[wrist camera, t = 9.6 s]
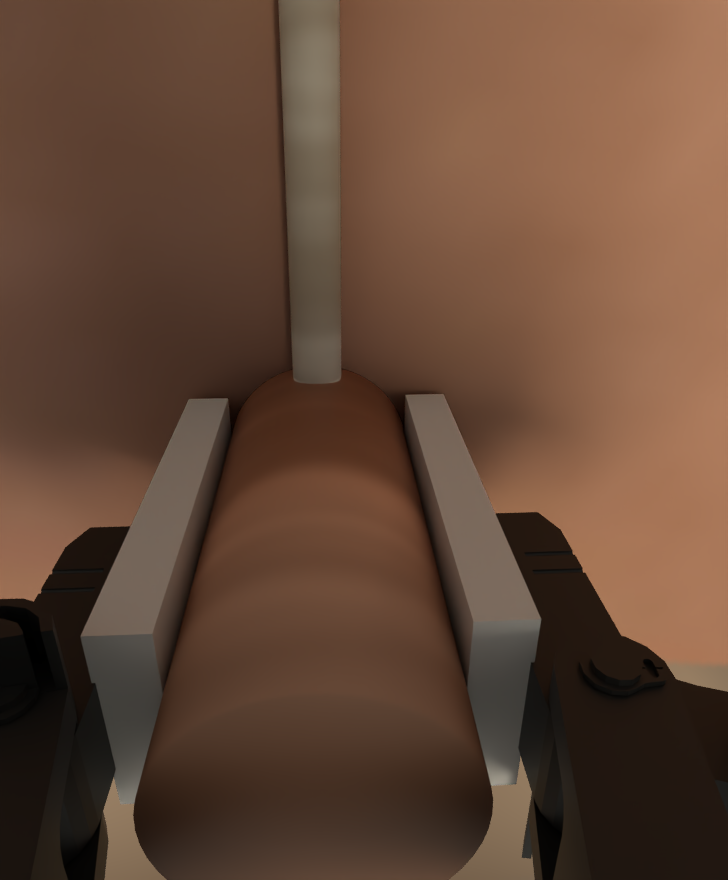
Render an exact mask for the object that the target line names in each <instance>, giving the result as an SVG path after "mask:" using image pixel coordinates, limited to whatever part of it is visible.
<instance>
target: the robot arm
mask: <svg viewBox="0 0 728 880" xmlns="http://www.w3.org/2000/svg"><path fill="white" fill-rule="evenodd" d="M404 434H405V438H406V442H407V446H408V450H409V454H410V458H411V463H412V467H413V471H414V475H415V479H416V483H417V487H418V491H419V495H420V499H421V503H422V507H423V511H424V515H425V519H426V523H427V527H428V532H429V536H430V540H431V544H432V548H433V552H434V556H435V560H436V564H437V568H438V572H439V576H440V580H441V584H442V588H443V592H444V597H445V601H446V605H447V609H448V613H449V617H450V621H451V625H452V629H453V633H454V637H455V641H456V645H457V649H458V653H459V657H460V662H461V666H462V670H463V674H464V678H465V682H466V686H467V690H468V694H469V698H470V702H471V706H472V710H473V714H474V718H475V722H476V726H477V731H478V735H479V739H480V743H481V747H482V751H483V755H484V759H485V763H486V767H487V771H488V775H489V779H490V783H491V786H492V785H510V784H516V781H517V775H518V769H519V762H520V756H521V758H522V762H523V765H524V767H525V771H526V774H527V778H528V781H529V784H530V787H531V790H532V796H531V802H530V807H529V813H528V819H527V825H526V831H525V837H524V844H523V852H522V858H531V855H532V857H533V867H534V876H535V880H728V692H726V691H721V690H716V689H711V688H706V687H701V686H697V685H693V684H690V683H686V682H683V681H679V680H677V679H675V677H674V675H673V674H672V672H671V671H670V669H669V668H668V666H667V664H666V663H665V661H664V660H662V659H661V658H660V657H659V656H657V655H656V654H655V653H654V652H652V651H651V650H650V649H649V648H648V647H646V646H644V645H642V644H640V643H638V642H635V641H633V640H631V639H629V638H627V637H624V636H621V635H620V633H619V631H618V629H617V628H616V626H615V624H614V622H613V621H612V619H611V617H610V615H609V614H608V612H607V610H606V608H605V607H604V605H603V603H602V601H601V600H600V598H599V596H598V594H597V593H596V591H595V589H594V587H593V586H592V584H591V582H590V580H589V579H588V577H587V575H586V573H583V571H582V566H581V565H580V563H579V561H578V559H577V558H576V556H575V555H573V553H572V549H571V547H570V545H569V544H568V542H567V540H566V538H565V537H564V535H563V533H562V531H561V530H560V529H559V528H558V527H556V526H555V525H554V524H552V523H551V522H550V521H548V520H547V519H546V518H545V517H543V516H542V515H541V514H539V513H538V512H528V513H496V514H495V512H494V509H493V507H492V505H491V502H490V500H489V498H488V495H487V493H486V491H485V489H484V486H483V484H482V482H481V479H480V477H479V475H478V472H477V470H476V468H475V465H474V463H473V461H472V459H471V456H470V454H469V452H468V449H467V447H466V445H465V442H464V440H463V438H462V436H461V433H460V431H459V429H458V426H457V424H456V422H455V419H454V417H453V415H452V412H451V410H450V408H449V406H448V403H447V401H446V399H445V396H444V394H416V395H405V423H404ZM231 436H232V433H231V423H230V412H229V402H228V398H214V399H189V400H188V402H187V404H186V406H185V409H184V411H183V413H182V415H181V417H180V419H179V422H178V424H177V426H176V428H175V430H174V433H173V435H172V437H171V439H170V441H169V444H168V446H167V448H166V450H165V452H164V454H163V457H162V459H161V461H160V463H159V465H158V468H157V470H156V472H155V474H154V476H153V479H152V481H151V483H150V485H149V487H148V490H147V492H146V494H145V496H144V498H143V500H142V503H141V505H140V507H139V509H138V511H137V514H136V516H135V518H134V520H133V522H132V525H131V526H128V527H94V528H89V529H88V530H87V531H85V532H84V533H83V534H82V535H80V536H79V537H78V538H77V539H75V540H74V541H73V542H72V543H70V544H69V545H68V546H67V547H65V549H64V551H63V553H62V554H61V556H60V558H59V559H58V561H57V563H56V565H55V566H54V568H53V570H52V571H53V572H52V574H50V575H49V577H48V578H47V580H46V582H45V583H44V585H43V587H42V589H41V594H38V595H37V597H36V599H35V601H34V602H33V601H29V600H26V599H0V880H104V878H105V869H106V868H105V867H106V859H107V849H108V835H107V826H106V822H105V817H104V813H103V809H104V806H105V803H106V799H107V796H108V793H109V790H110V787H111V783H112V780H113V777H114V779H115V783H116V787H117V791H118V795H119V800H120V804H134V803H135V797H136V793H137V790H138V786H139V782H140V778H141V775H142V771H143V767H144V763H145V760H146V756H147V752H148V748H149V745H150V741H151V737H152V733H153V730H154V726H155V722H156V718H157V715H158V711H159V707H160V703H161V700H162V696H163V692H164V688H165V684H166V681H167V677H168V673H169V669H170V666H171V662H172V658H173V654H174V651H175V647H176V643H177V639H178V636H179V632H180V628H181V624H182V621H183V617H184V613H185V609H186V606H187V602H188V598H189V594H190V590H191V587H192V583H193V579H194V575H195V572H196V568H197V564H198V560H199V557H200V553H201V549H202V545H203V542H204V538H205V534H206V530H207V527H208V523H209V519H210V515H211V512H212V508H213V504H214V500H215V496H216V493H217V489H218V485H219V481H220V478H221V474H222V470H223V466H224V463H225V459H226V455H227V451H228V448H229V444H230V440H231Z"/></svg>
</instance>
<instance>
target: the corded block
mask: <svg viewBox="0 0 728 880" xmlns="http://www.w3.org/2000/svg"><path fill="white" fill-rule="evenodd" d="M278 4H279V30H280V55H281V81H282V107H283V132H284V158H285V184H286V209H287V235H288V261H289V286H290V312H291V338H292V363H293V369H292V370H289V371H286V372H283V373H281V374H279V375H277V376H275V377H273V378H271V379H269V380H268V381H266V382H265V383H263V384H262V385H261V386H260V387H259V388H257V389H256V390H255V391H254V392H253V393H252V394H251V395H250V397H249V398H248V399H247V400H246V402H245V403H244V405H243V406H242V408H241V410H240V412H239V414H238V416H237V419H236V422H235V425H234V429H233V433H232V436H231V440H230V444H229V448H228V451H227V455H226V459H225V463H224V466H223V470H222V474H221V478H220V481H219V485H218V489H217V493H216V496H215V500H214V504H213V508H212V512H211V515H210V519H209V523H208V527H207V530H206V534H205V538H204V542H203V545H202V549H201V553H200V557H199V560H198V564H197V568H196V572H195V575H194V579H193V583H192V587H191V590H190V594H189V598H188V602H187V606H186V609H185V613H184V617H183V621H182V624H181V628H180V632H179V636H178V639H177V643H176V647H175V651H174V654H173V658H172V662H171V666H170V669H169V673H168V677H167V681H166V684H165V688H164V692H163V696H162V700H161V703H160V707H159V711H158V715H157V718H156V722H155V726H154V730H153V733H152V737H151V741H150V745H149V748H148V752H147V756H146V760H145V763H144V767H143V771H142V775H141V778H140V782H139V786H138V790H137V793H136V797H135V803H134V815H133V816H134V824H135V831H136V834H137V837H138V840H139V843H140V846H141V847H142V849H143V851H144V853H145V855H146V856H147V858H148V859H149V861H150V862H151V863H152V865H153V866H154V867H155V868H156V869H157V871H158V872H159V873H160V874H161V875H162V876H164V877H165V878H166V879H167V880H449V879H450V878H451V877H452V876H454V875H455V874H456V873H457V872H458V871H459V870H460V869H462V868H463V867H464V865H465V864H466V863H467V862H468V861H469V860H470V859H471V858H472V857H473V855H474V854H475V852H476V851H477V849H478V848H479V846H480V845H481V843H482V842H483V840H484V837H485V835H486V833H487V831H488V828H489V824H490V821H491V817H492V808H493V796H492V790H491V783H490V779H489V775H488V771H487V767H486V763H485V759H484V755H483V751H482V747H481V743H480V739H479V735H478V731H477V726H476V722H475V718H474V714H473V710H472V706H471V702H470V698H469V694H468V690H467V686H466V682H465V678H464V674H463V670H462V666H461V662H460V657H459V653H458V649H457V645H456V641H455V637H454V633H453V629H452V625H451V621H450V617H449V613H448V609H447V605H446V601H445V597H444V592H443V588H442V584H441V580H440V576H439V572H438V568H437V564H436V560H435V556H434V552H433V548H432V544H431V540H430V536H429V532H428V527H427V523H426V519H425V515H424V511H423V507H422V503H421V499H420V495H419V491H418V487H417V483H416V479H415V475H414V471H413V467H412V463H411V458H410V454H409V450H408V446H407V442H406V438H405V434H404V430H403V426H402V423H401V420H400V417H399V415H398V413H397V411H396V409H395V407H394V405H393V404H392V402H391V401H390V399H389V398H388V397H387V396H386V395H385V394H384V393H383V392H382V390H381V389H379V388H378V387H377V386H376V385H374V384H373V383H372V382H370V381H369V380H367V379H365V378H364V377H362V376H360V375H358V374H355V373H353V372H350V371H347V370H344V369H341V167H340V0H278Z"/></svg>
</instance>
